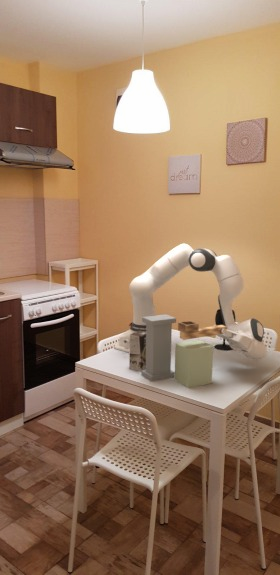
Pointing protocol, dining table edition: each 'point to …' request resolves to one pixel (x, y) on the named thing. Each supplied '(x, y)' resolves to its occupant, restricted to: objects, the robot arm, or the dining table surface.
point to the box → (193, 363)
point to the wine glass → (220, 322)
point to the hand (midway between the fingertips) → (218, 328)
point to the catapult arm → (197, 330)
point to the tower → (158, 347)
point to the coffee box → (137, 350)
